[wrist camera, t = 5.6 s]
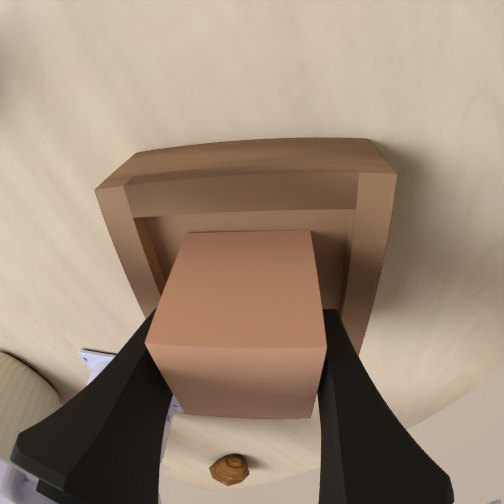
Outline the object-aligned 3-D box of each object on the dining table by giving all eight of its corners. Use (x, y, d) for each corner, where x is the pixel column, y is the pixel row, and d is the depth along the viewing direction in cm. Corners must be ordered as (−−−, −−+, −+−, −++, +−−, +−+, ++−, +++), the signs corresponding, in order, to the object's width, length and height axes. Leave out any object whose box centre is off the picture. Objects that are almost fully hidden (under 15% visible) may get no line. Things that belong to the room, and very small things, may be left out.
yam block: (304, 315, 14) (310, 417, 10) (205, 315, 14) (185, 413, 10) (310, 230, 11) (326, 347, 7) (186, 233, 11) (144, 343, 7)
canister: (2, 327, 25) (-65, 476, 8) (102, 411, 34) (65, 539, 18) (-30, 337, 30) (-79, 438, 14) (44, 403, 40) (11, 497, 23)
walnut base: (347, 309, 17) (356, 362, 14) (182, 309, 19) (166, 359, 16) (367, 138, 11) (397, 173, 8) (136, 152, 13) (94, 189, 10)
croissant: (214, 447, 38) (209, 477, 34) (259, 454, 38) (256, 483, 34) (207, 463, 46) (204, 486, 42) (243, 469, 47) (241, 492, 43)
